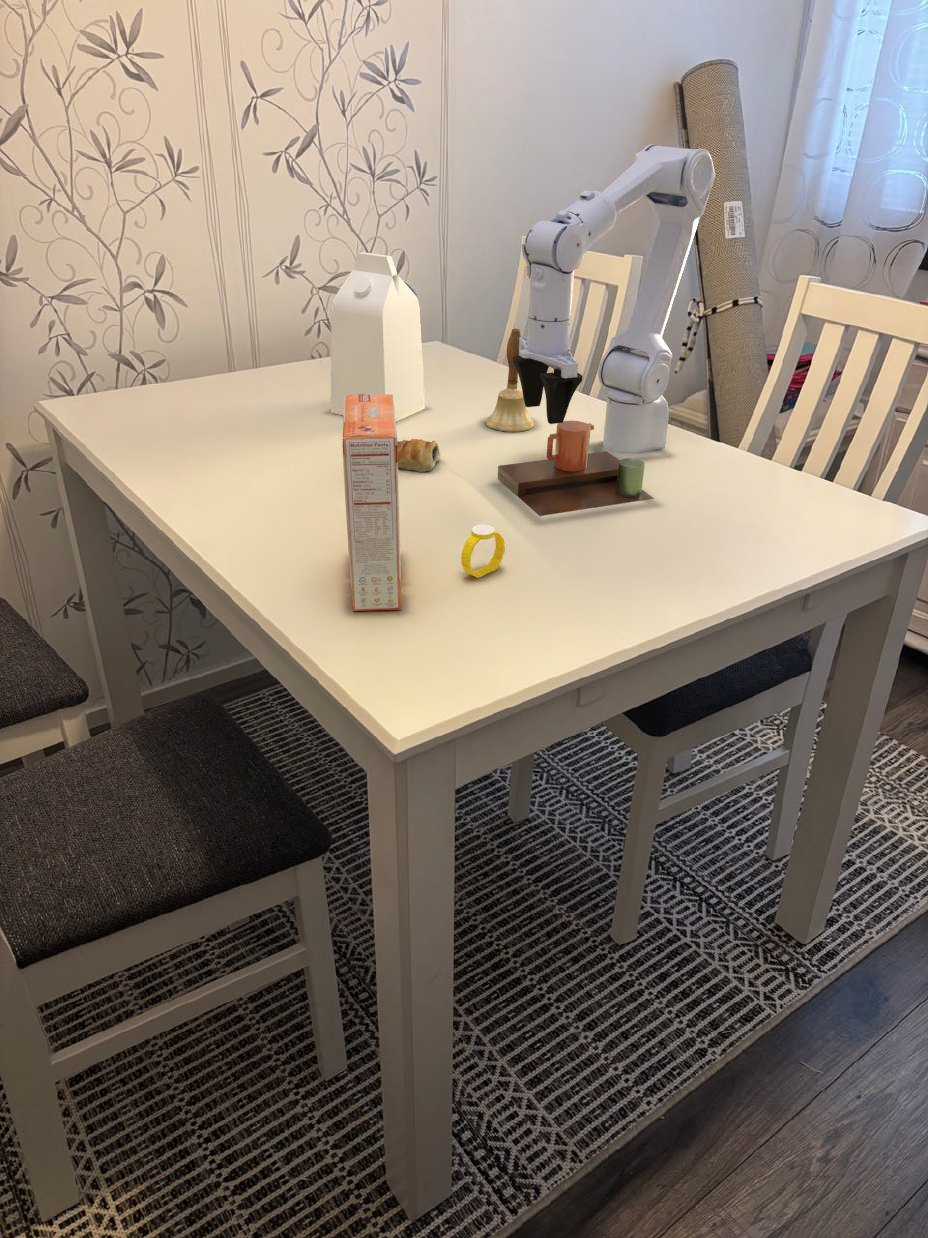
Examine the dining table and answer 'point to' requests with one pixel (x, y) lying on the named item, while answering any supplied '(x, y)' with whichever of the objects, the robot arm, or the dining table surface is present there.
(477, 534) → the watch
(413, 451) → the pastry
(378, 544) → the cracker box
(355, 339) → the milk
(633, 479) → the tin
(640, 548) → the dining table surface
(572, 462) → the jug
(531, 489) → the step shelf
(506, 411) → the hand bell
